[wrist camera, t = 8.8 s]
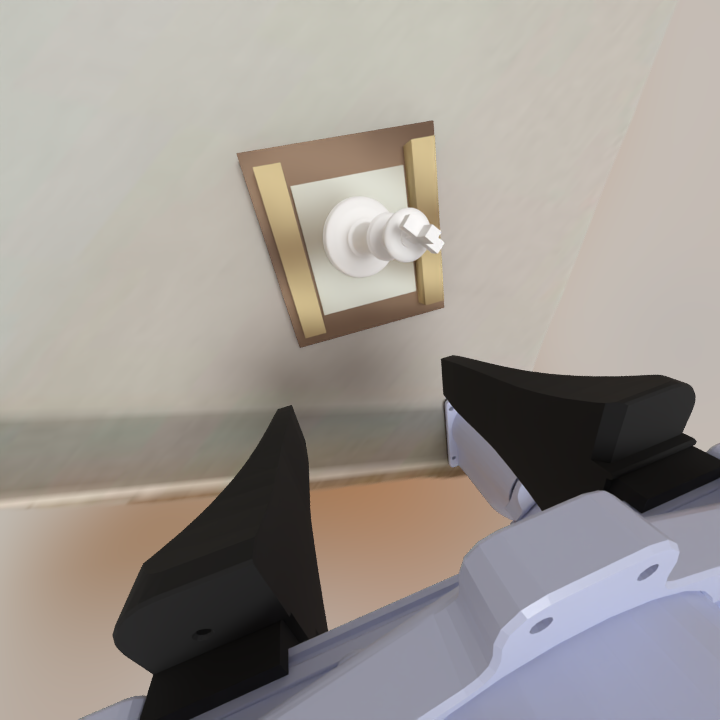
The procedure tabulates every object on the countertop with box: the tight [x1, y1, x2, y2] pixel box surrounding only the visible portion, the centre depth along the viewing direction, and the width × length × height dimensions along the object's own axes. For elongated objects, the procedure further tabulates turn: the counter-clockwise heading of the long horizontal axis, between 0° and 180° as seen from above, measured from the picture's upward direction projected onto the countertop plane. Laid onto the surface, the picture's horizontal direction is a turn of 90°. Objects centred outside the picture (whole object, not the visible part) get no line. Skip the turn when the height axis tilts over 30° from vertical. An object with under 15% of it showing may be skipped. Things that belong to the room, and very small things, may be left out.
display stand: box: [236, 121, 444, 348], centre depth 18 cm, size 12×12×2 cm
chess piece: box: [323, 196, 444, 278], centre depth 13 cm, size 5×5×10 cm
